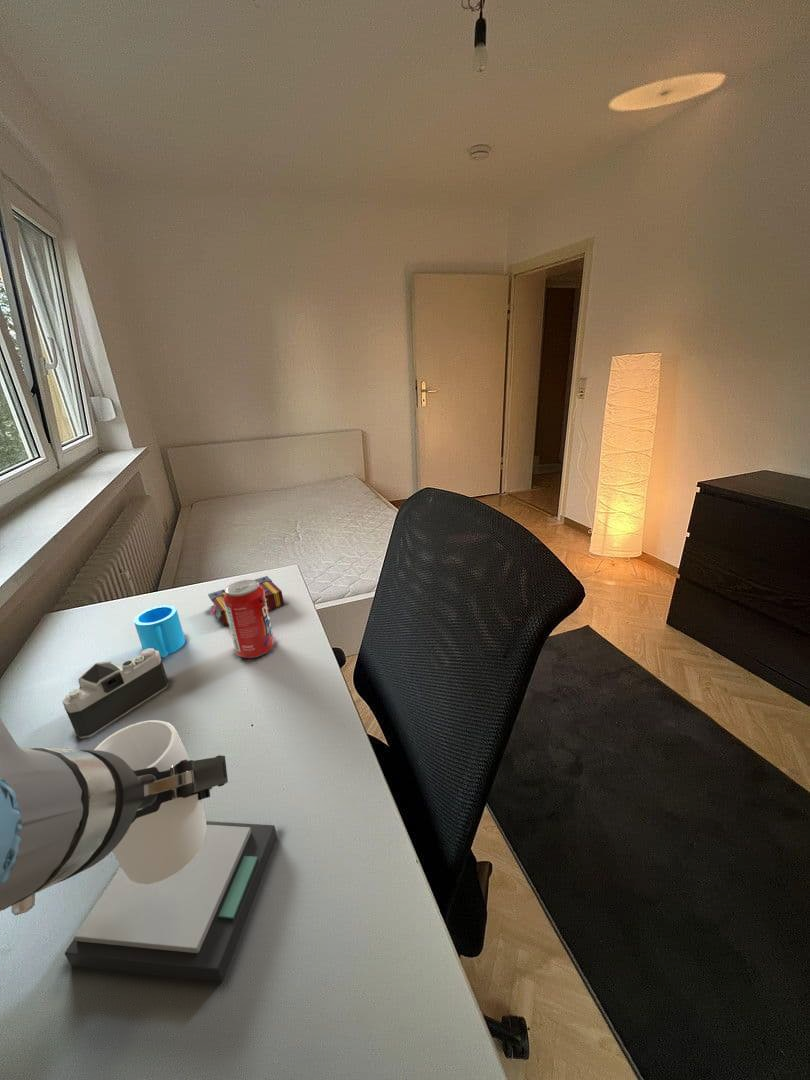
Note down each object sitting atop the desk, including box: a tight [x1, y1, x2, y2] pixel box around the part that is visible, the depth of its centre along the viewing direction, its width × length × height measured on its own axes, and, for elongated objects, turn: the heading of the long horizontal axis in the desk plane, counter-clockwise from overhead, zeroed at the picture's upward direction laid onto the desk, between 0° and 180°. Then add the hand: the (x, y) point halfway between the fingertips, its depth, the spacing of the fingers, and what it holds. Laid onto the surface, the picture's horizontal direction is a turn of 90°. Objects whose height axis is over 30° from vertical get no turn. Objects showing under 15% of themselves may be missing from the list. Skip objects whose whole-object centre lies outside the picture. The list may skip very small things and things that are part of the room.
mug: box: [133, 604, 186, 658], centre depth 93 cm, size 12×8×8 cm
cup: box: [93, 719, 207, 884], centre depth 44 cm, size 8×8×14 cm
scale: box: [64, 820, 278, 983], centre depth 49 cm, size 16×14×3 cm
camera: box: [61, 648, 170, 739], centre depth 78 cm, size 16×9×10 cm, turn 149°
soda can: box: [223, 579, 275, 659], centre depth 91 cm, size 8×8×15 cm
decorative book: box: [207, 575, 285, 627], centre depth 109 cm, size 11×16×5 cm
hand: (161, 790), depth 48 cm, fingers closed on cup, 8 cm apart
